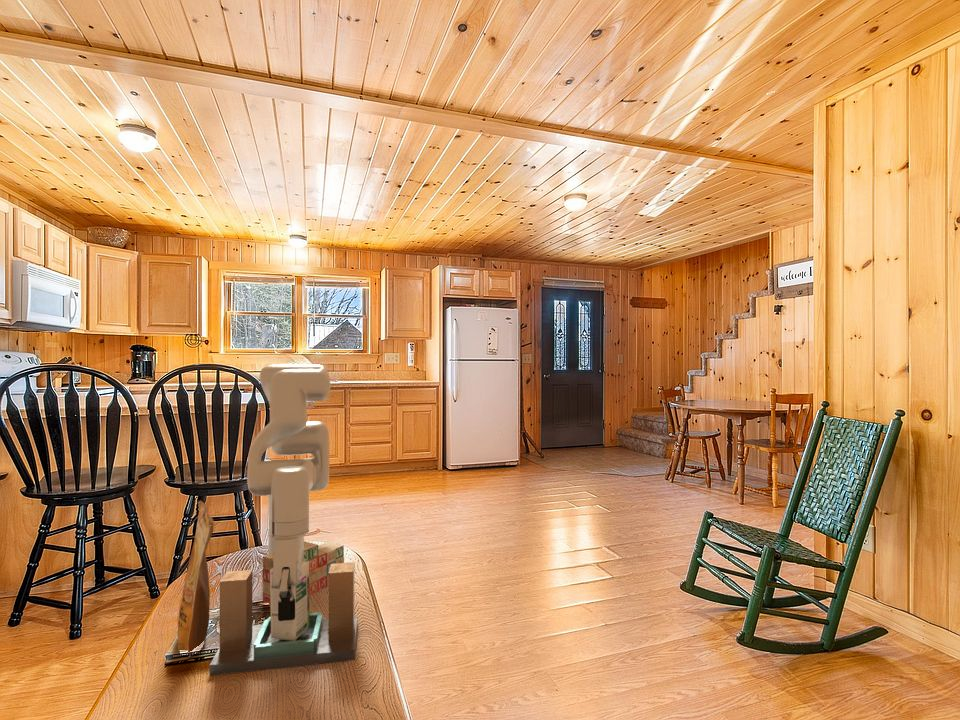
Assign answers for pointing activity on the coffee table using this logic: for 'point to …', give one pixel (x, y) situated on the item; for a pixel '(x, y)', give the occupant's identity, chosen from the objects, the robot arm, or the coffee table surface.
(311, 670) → the coffee table surface
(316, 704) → the coffee table surface
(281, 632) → the syrup box
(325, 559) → the stack of blocks
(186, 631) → the pancake mix bag
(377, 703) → the coffee table surface
